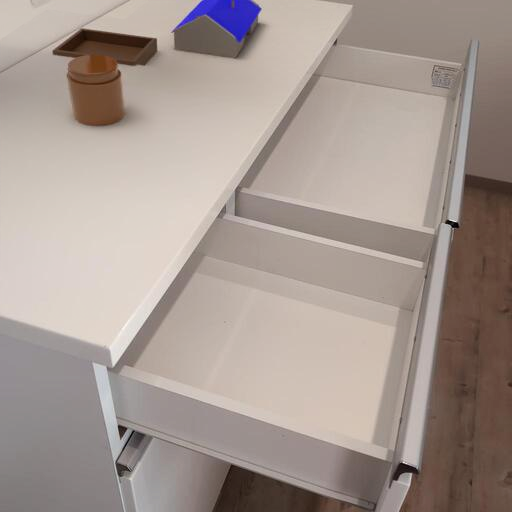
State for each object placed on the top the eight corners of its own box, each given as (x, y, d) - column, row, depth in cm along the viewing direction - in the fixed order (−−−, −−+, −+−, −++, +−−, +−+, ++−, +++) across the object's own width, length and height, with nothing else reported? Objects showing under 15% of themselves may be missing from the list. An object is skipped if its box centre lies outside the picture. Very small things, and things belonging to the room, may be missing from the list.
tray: (54, 64, 99) (52, 50, 98) (83, 40, 109) (81, 28, 107) (135, 75, 98) (134, 62, 96) (157, 51, 107) (156, 38, 105)
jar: (66, 132, 81) (55, 70, 75) (87, 110, 87) (78, 50, 81) (115, 140, 80) (107, 78, 74) (133, 117, 86) (127, 57, 80)
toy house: (239, 58, 107) (240, 19, 102) (171, 48, 108) (169, 10, 103) (261, 23, 123) (263, -12, 118) (201, 15, 125) (201, -20, 120)
